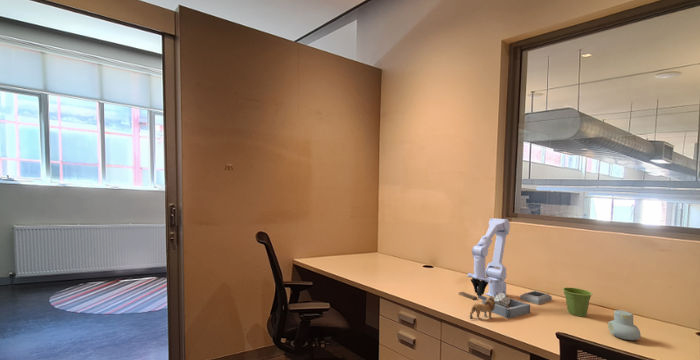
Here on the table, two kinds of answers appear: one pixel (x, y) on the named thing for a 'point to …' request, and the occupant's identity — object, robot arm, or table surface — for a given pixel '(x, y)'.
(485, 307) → the lion figurine
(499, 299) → the grey rock
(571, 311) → the plant pot
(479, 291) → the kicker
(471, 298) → the rail
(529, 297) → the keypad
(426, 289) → the table surface
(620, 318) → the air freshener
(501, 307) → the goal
